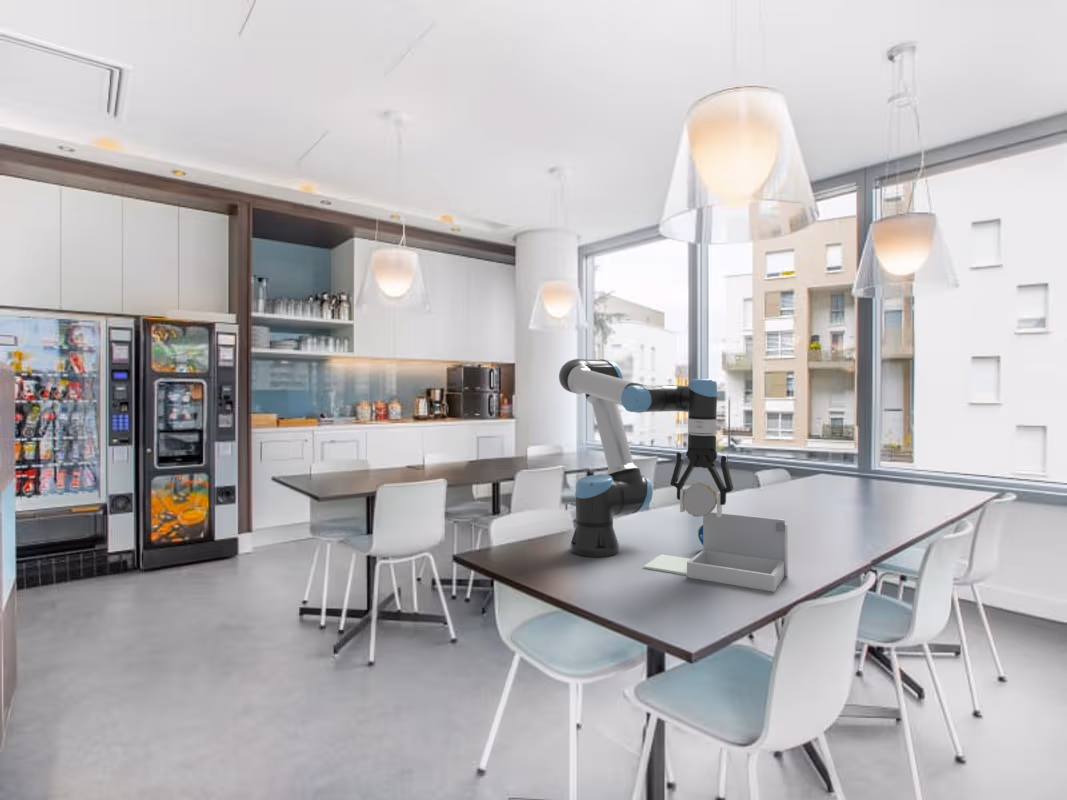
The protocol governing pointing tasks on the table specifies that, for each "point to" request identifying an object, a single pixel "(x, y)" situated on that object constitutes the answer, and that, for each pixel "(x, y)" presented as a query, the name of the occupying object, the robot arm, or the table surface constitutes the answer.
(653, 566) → the mat
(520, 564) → the table surface
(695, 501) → the coral
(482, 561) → the table surface
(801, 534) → the table surface
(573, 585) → the table surface
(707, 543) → the case
